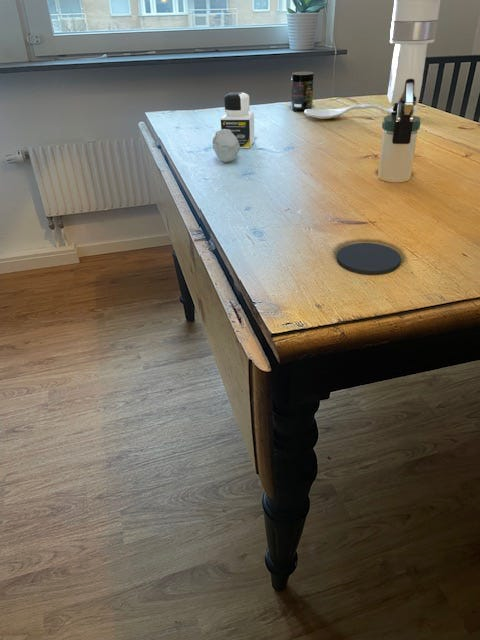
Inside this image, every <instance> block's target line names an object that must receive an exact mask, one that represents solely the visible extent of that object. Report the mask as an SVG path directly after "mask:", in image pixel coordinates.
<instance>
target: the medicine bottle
mask: <svg viewBox="0 0 480 640" xmlns="http://www.w3.org/2000/svg"><path fill="white" fill-rule="evenodd" d="M223 100H224V113H225V114H223V116H222V117H221V118H220V130H221V129H229V130H231V132H232V133H233V134H234V135H235V136H236V137H237V140H238V142H239V145H240V147H239V149H250V148H251V147H252V146H253V144H254V142H255V112H254V111H250V110H251V109H250V95H249V94H248V93H246V92H242V91H241V92H239V91H238V92H237V91H236V92H229V93H227V94H226V95H224V97H223Z"/></svg>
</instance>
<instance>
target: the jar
mask: <svg viewBox="0 0 480 640" xmlns="http://www.w3.org/2000/svg"><path fill="white" fill-rule="evenodd" d="M418 133H419V132H418V130H417V131H414V132H412V133H411V140H410V143H409V144H393V142H392V139H393V132H390V131H386V130H384V129H382V138H381V145H380V147H381V148H380V154H379V163H378V171H377V172H378V173H377V178H378V179H379V180H381V181H384V182H388V183H405V182H408V181H410V180H411V178H412V171H413V164H414V158H415V153H416V152H415V151H416V145H417V139H418Z"/></svg>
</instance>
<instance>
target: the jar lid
mask: <svg viewBox="0 0 480 640" xmlns="http://www.w3.org/2000/svg"><path fill="white" fill-rule="evenodd" d="M395 121H397V115H391V114H389V115H386V116H384V117H383V119H382V123H381V124H382V125H381V129H382V130H386V131H390V132H393V131H394V123H395ZM420 128H421V117H419V116H416V115H413V126H412V132H414V131H417V132H418V131H419V130H420Z"/></svg>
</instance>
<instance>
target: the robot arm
mask: <svg viewBox="0 0 480 640" xmlns="http://www.w3.org/2000/svg"><path fill="white" fill-rule="evenodd" d="M441 1H442V0H394V1H393V11H392V20H391V27H390V37H389V43H390V44H393V45H394V49H393V54H392V59H391V67H390V68H391V69H390V75H389V83H388V89H387V100H388V102H389V104H390V106H392V107H393V112H392V113H391V114H390V115H397V121H395V123H394V131H393V139H392V142H393V144H409V143H410V140H411V133H412V126H413V116H414V112H415V111H414V107H415V106H416V105H417V104H418V103H419V101H420V97H421V93H422V87H423V79H424V71H425V66H426V58H427V51H428V50H427V49H428V44H433V43H435V39H436V33H437V27H438V21H439V20H438V19H439V14H440V9H441V7H440V6H441Z"/></svg>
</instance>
